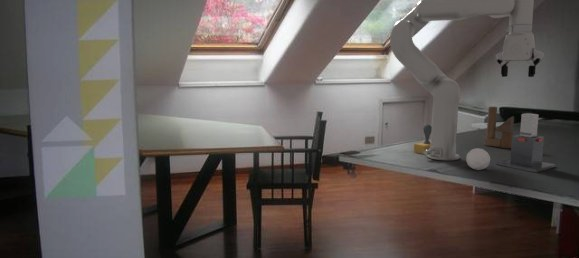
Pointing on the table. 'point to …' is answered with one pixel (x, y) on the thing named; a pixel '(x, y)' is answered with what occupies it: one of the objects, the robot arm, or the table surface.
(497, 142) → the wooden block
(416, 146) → the rubber stamp
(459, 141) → the table surface
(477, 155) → the geometric ball
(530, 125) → the column
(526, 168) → the stand base
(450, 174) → the table surface
